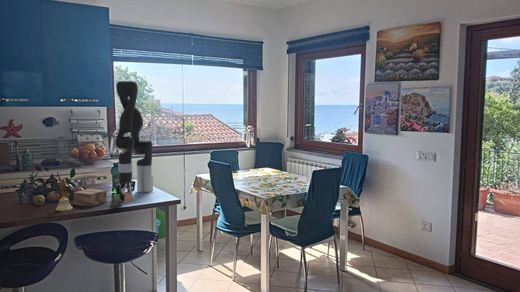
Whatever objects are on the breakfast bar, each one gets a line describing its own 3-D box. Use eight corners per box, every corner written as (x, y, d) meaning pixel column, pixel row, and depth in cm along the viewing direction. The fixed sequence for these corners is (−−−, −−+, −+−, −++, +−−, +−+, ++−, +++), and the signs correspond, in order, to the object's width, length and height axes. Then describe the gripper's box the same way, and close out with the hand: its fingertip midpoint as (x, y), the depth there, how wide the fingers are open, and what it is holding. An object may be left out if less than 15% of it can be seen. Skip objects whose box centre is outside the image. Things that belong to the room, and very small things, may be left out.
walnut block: (90, 200, 242) (90, 188, 242) (106, 202, 238) (106, 190, 237) (73, 204, 231) (73, 192, 231) (90, 207, 227) (89, 194, 226)
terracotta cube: (125, 199, 244) (125, 191, 244) (132, 200, 242) (132, 192, 242) (119, 201, 240) (119, 192, 239) (125, 202, 238) (125, 193, 237)
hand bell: (54, 211, 216) (53, 181, 214) (57, 207, 224) (56, 178, 222) (71, 210, 218) (70, 180, 216) (74, 206, 226) (73, 177, 224)
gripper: (129, 168, 247) (130, 197, 249) (110, 172, 235) (111, 201, 236) (139, 170, 244) (139, 198, 246) (120, 173, 231) (121, 203, 233)
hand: (125, 199), depth 241 cm, fingers closed on terracotta cube, 5 cm apart
